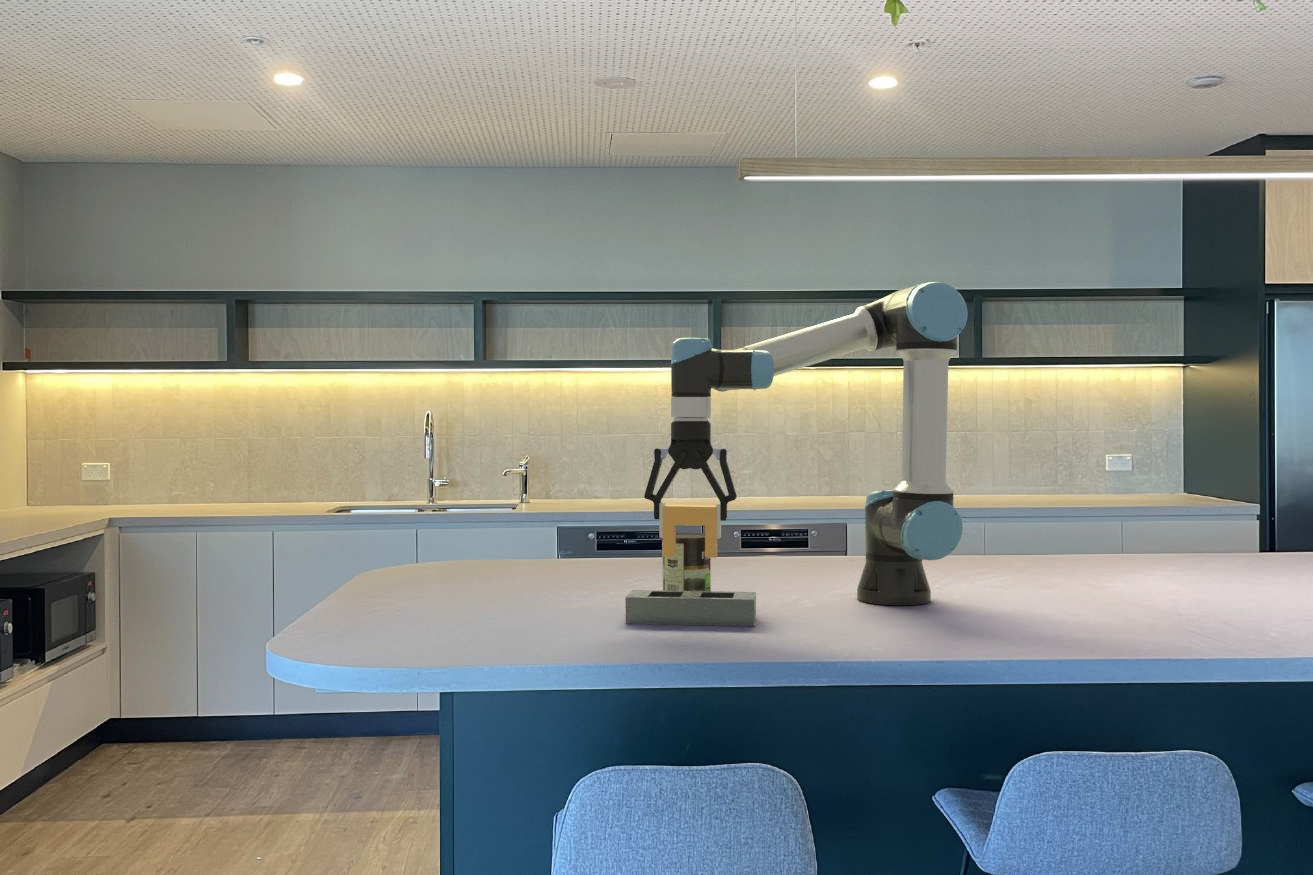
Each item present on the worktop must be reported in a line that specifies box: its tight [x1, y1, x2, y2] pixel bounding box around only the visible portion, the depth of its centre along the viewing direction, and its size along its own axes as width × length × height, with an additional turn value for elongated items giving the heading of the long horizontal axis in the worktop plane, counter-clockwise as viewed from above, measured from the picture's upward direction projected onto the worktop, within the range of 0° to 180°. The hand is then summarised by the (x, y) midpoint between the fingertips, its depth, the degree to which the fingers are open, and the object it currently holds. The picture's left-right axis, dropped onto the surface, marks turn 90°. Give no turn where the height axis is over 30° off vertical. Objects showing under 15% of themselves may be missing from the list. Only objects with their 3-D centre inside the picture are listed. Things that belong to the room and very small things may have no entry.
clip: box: [663, 504, 718, 559], centre depth 203 cm, size 10×4×10 cm, turn 83°
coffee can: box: [661, 532, 712, 591], centre depth 223 cm, size 10×10×14 cm
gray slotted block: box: [624, 589, 757, 628], centre depth 203 cm, size 24×8×5 cm, turn 83°
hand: (690, 537), depth 203 cm, fingers closed on clip, 10 cm apart
